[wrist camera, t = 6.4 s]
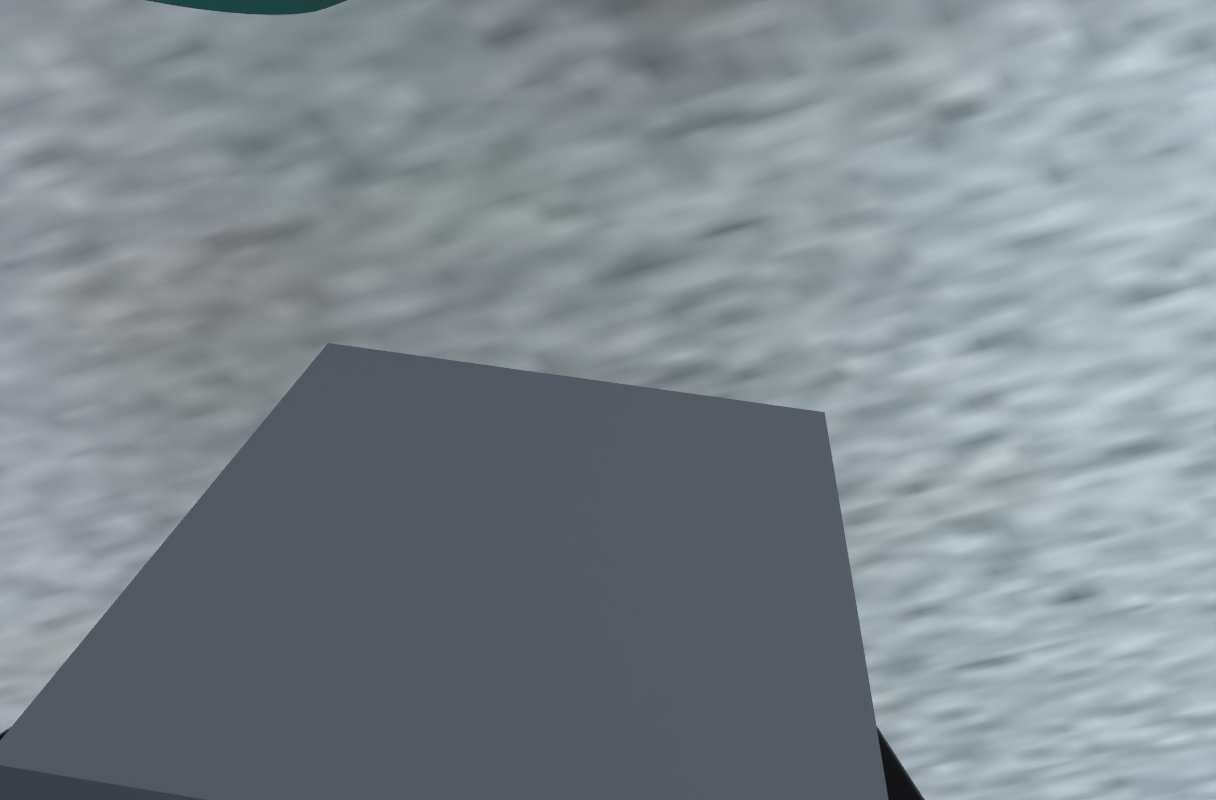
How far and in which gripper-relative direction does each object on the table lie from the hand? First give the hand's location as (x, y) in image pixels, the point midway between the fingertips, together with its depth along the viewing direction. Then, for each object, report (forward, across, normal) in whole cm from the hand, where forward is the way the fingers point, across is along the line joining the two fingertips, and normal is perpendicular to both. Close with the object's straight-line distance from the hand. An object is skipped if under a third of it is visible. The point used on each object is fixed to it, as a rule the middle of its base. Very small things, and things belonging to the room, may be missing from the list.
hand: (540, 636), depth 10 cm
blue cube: (+1, 0, 0) cm, 1 cm away
